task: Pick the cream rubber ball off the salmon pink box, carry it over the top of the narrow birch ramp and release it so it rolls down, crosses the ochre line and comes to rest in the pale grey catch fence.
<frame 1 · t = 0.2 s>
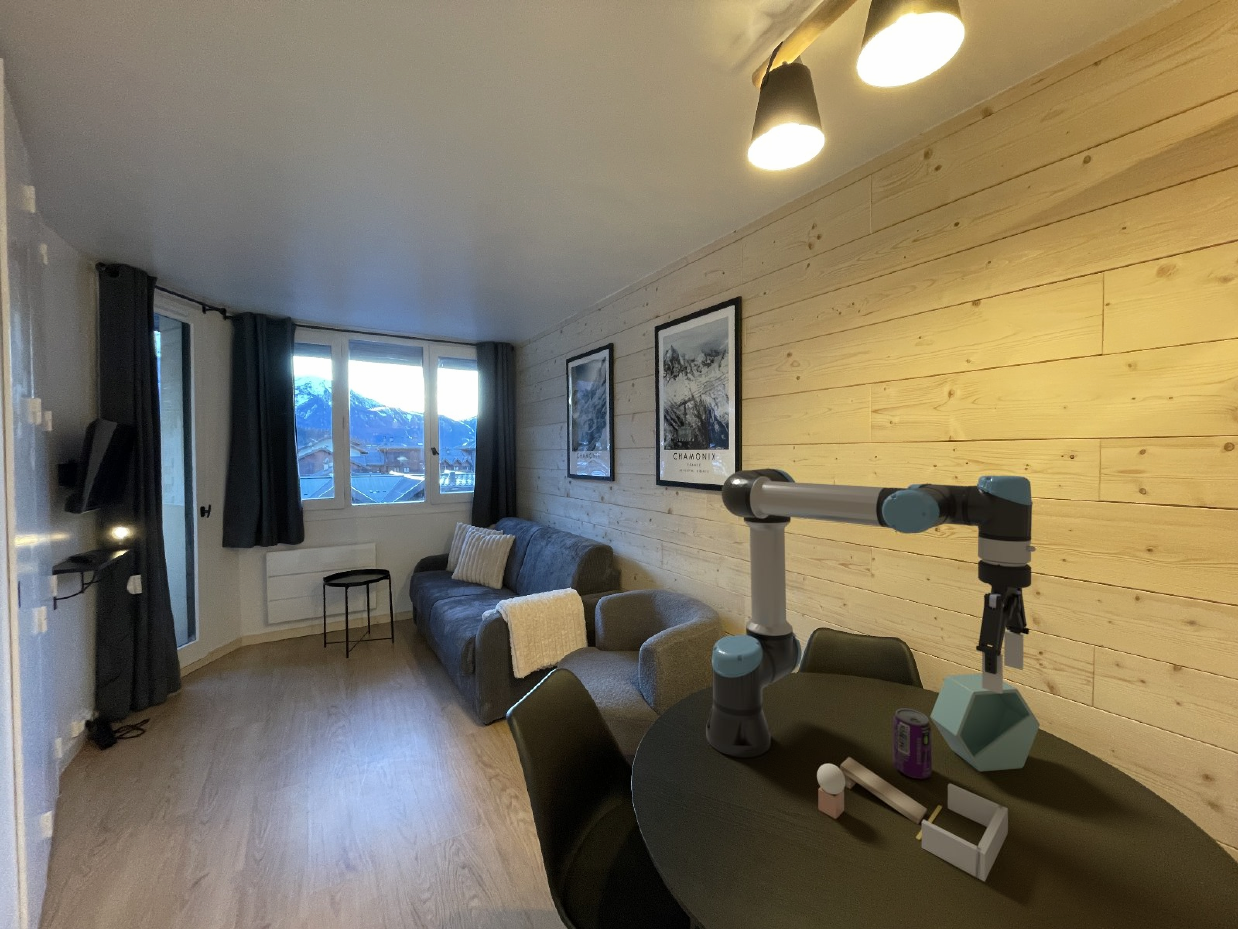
hand: (1003, 678, 88), 28 cm above the table, fingers open, 13 cm apart
catch fence: (992, 854, 83), on the table
salmon pink box: (831, 810, 94), on the table
ball: (831, 778, 94), point 6 cm above the table, touching salmon pink box
ramp: (881, 798, 97), on the table
line: (929, 822, 90), on the table
planter: (983, 760, 108), on the table
beverage can: (912, 771, 105), on the table
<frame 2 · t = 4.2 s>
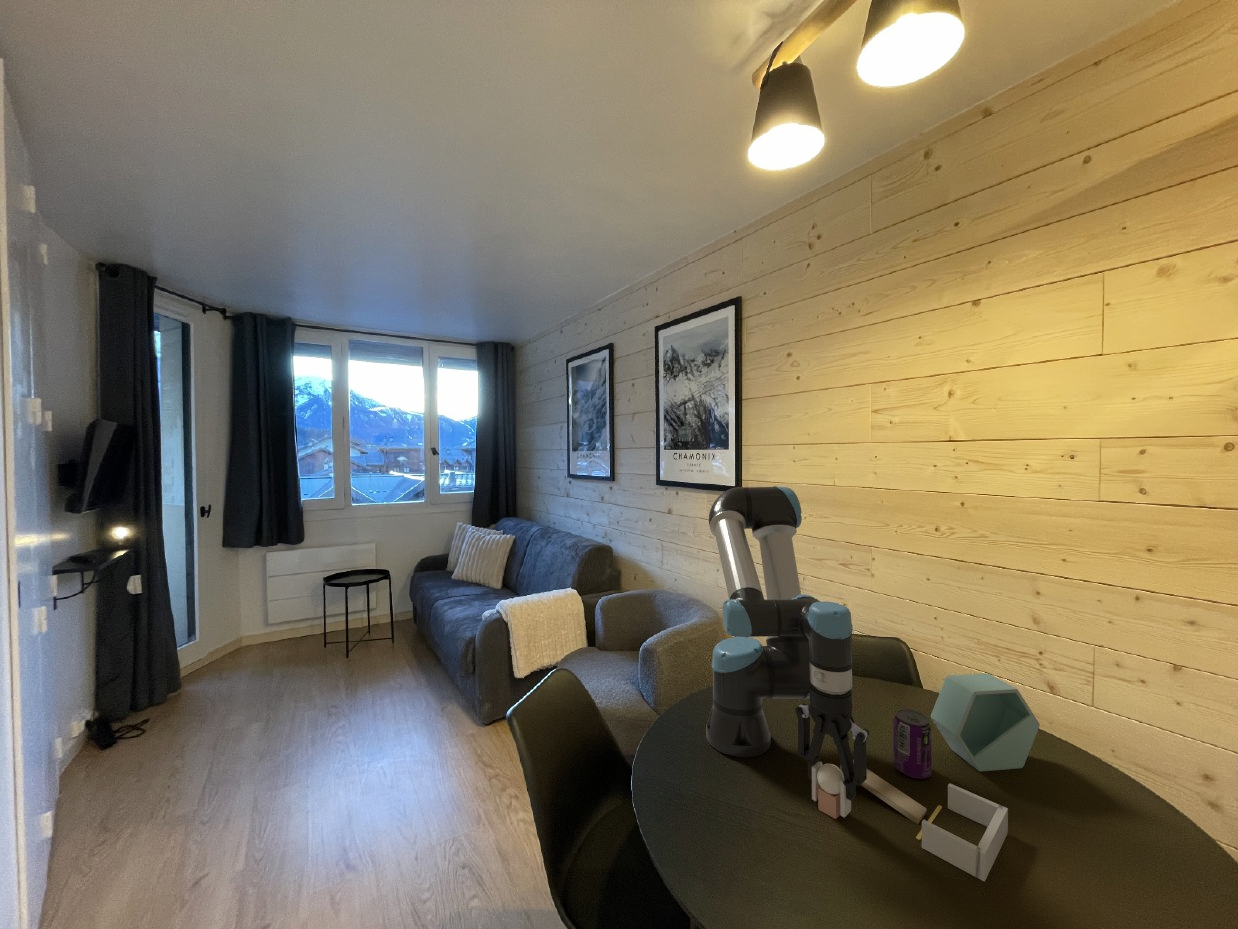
hand: (831, 804, 94), 1 cm above the table, fingers closed on ball, 5 cm apart
ball: (831, 778, 94), point 6 cm above the table, touching gripper, salmon pink box
everything else where it was.
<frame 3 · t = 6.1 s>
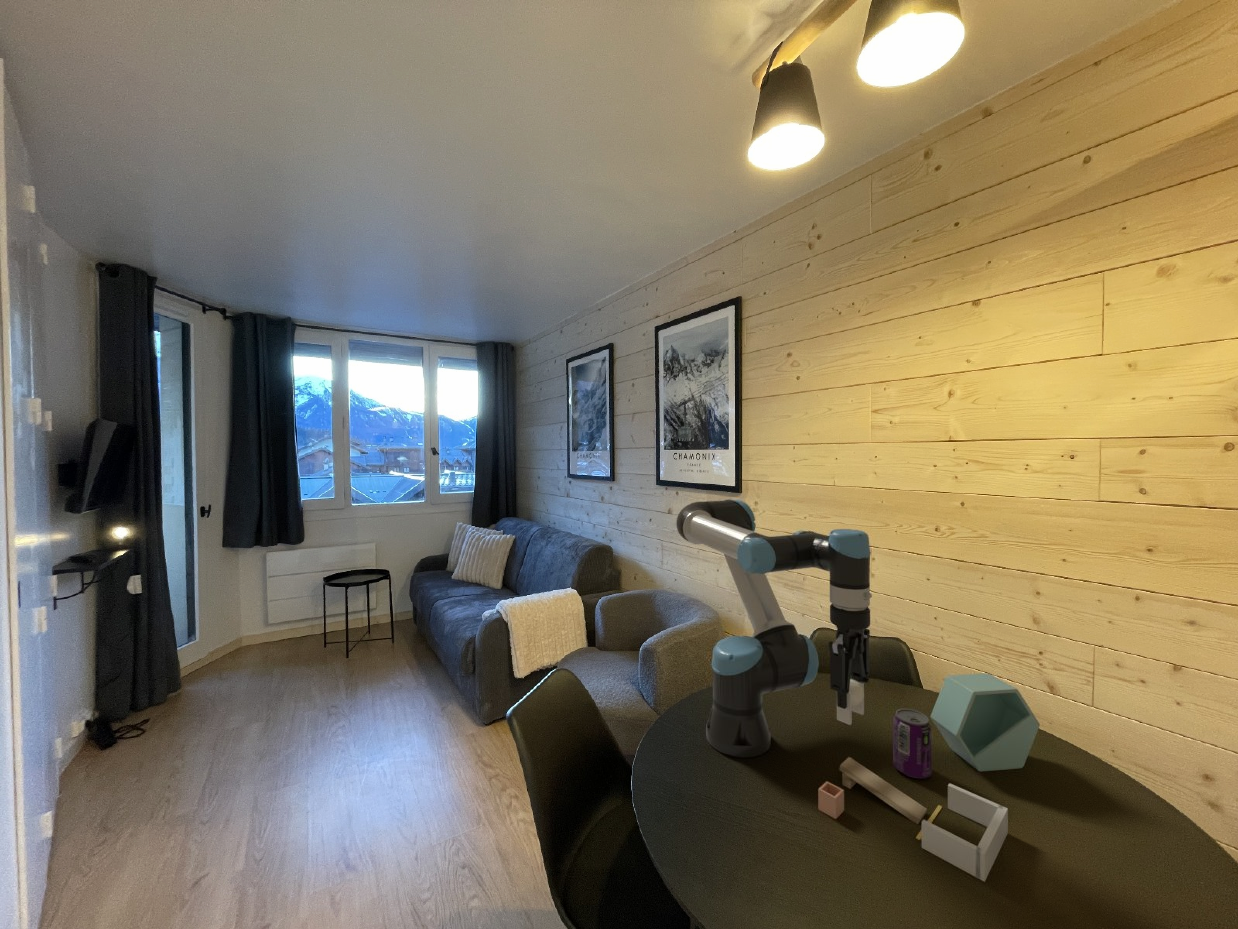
hand: (850, 716, 101), 14 cm above the table, fingers closed on ball, 5 cm apart
ball: (850, 692, 101), point 19 cm above the table, touching gripper
everything else where it was.
when the fingers open (2 cm above the table, at t = 8.0 s): ball drops 5 cm and tips over, point 2 cm above the table.
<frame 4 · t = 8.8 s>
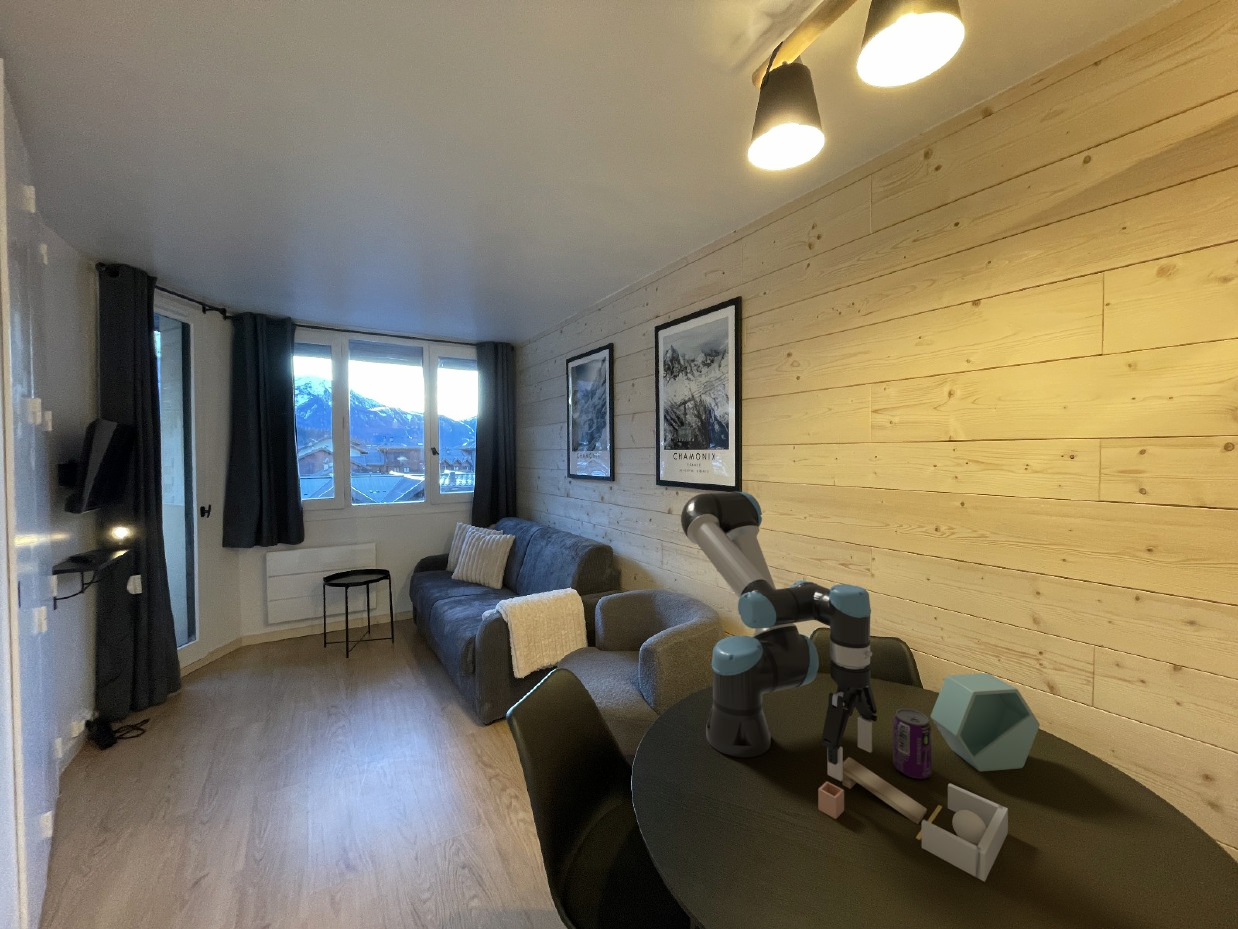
hand: (850, 762, 101), 4 cm above the table, fingers open, 13 cm apart
ball: (969, 827, 86), point 2 cm above the table, tilted 152°
everything else where it was.
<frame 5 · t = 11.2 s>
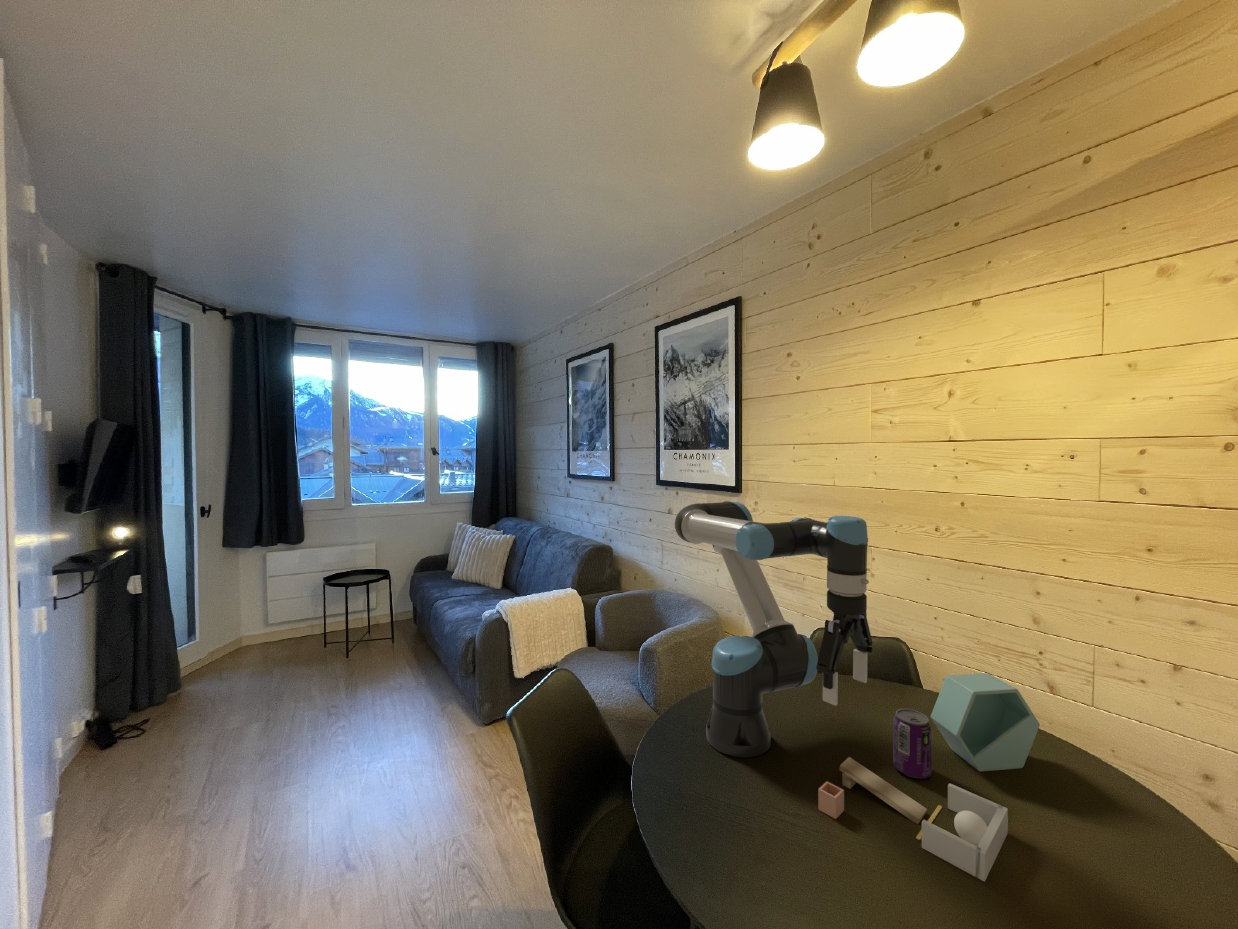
hand: (845, 691, 102), 19 cm above the table, fingers open, 13 cm apart
ball: (971, 828, 86), point 2 cm above the table, tilted 157°
everything else where it was.
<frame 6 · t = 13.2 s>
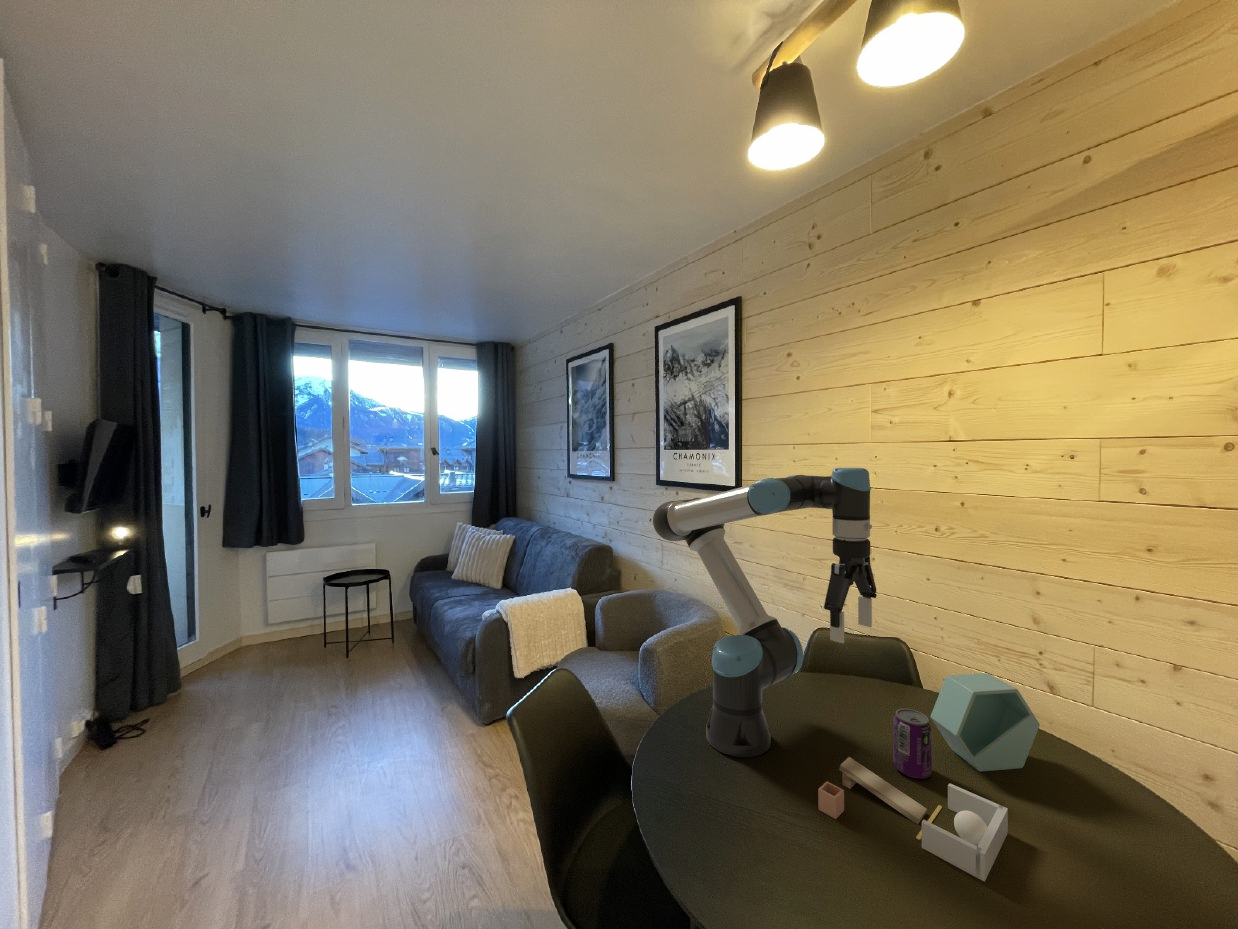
hand: (851, 633, 108), 29 cm above the table, fingers open, 13 cm apart
nothing on the table moved.
at the end: ball inside the target area (1.7 cm from its centre), point 2.5 cm above the table; the gripper is holding nothing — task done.
